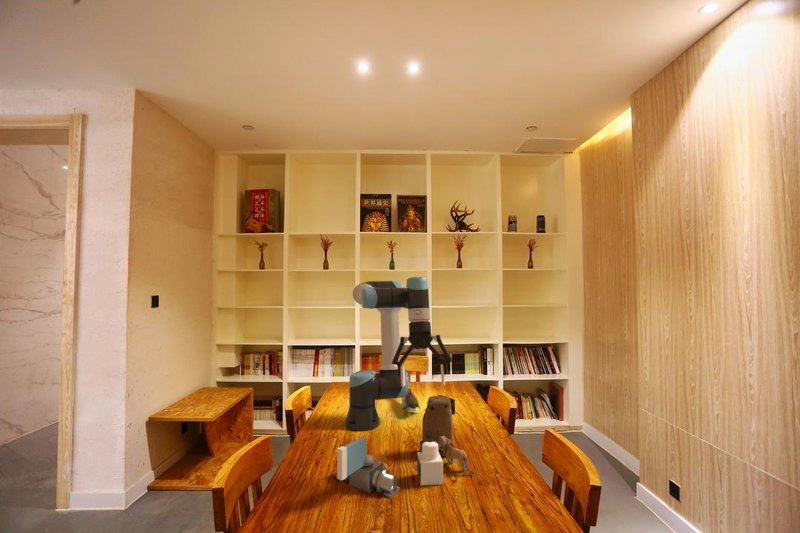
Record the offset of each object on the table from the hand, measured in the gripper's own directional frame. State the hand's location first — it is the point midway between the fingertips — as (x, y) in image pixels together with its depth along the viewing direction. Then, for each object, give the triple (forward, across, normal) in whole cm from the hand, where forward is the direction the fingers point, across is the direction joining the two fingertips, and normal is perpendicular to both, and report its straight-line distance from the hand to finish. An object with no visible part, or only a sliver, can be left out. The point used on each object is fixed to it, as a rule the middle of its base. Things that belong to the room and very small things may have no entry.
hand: (423, 385), depth 122 cm
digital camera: (+20, -1, +65) cm, 68 cm away
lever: (+22, -20, -12) cm, 32 cm away
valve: (+28, -19, -6) cm, 34 cm away
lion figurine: (+28, +7, +9) cm, 30 cm away
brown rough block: (+26, +1, +19) cm, 32 cm away
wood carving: (+18, -20, +67) cm, 72 cm away
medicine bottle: (+29, 0, 0) cm, 29 cm away
